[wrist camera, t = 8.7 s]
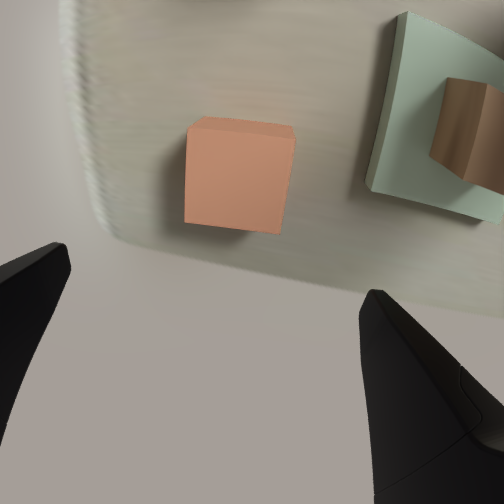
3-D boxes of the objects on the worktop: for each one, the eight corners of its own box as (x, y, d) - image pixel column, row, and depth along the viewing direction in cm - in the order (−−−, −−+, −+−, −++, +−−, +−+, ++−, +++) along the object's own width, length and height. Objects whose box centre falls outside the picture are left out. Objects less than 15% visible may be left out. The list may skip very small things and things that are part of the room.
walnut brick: (505, 107, 13) (546, 122, 9) (486, 177, 15) (522, 203, 12) (447, 77, 13) (487, 83, 9) (428, 156, 15) (462, 180, 12)
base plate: (525, 82, 12) (538, 85, 11) (488, 215, 18) (498, 225, 17) (398, 14, 12) (407, 11, 11) (364, 182, 18) (370, 191, 17)
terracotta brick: (291, 125, 17) (296, 139, 13) (279, 203, 19) (279, 234, 16) (205, 116, 17) (187, 127, 13) (200, 193, 19) (184, 222, 16)
